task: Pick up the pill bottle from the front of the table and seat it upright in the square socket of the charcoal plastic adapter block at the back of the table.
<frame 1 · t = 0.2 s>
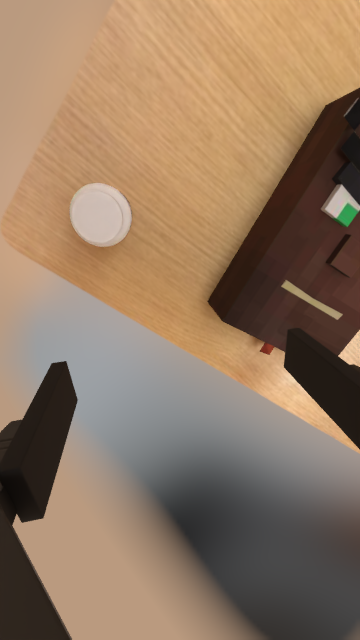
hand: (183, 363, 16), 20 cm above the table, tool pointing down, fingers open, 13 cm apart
decorative book: (308, 246, 35), on the table
pill bottle: (107, 213, 30), on the table
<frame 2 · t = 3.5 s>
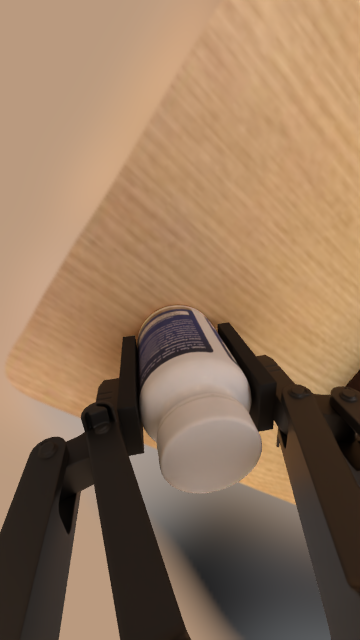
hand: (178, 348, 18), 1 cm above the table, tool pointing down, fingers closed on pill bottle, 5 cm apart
pill bottle: (175, 337, 19), on the table, touching gripper
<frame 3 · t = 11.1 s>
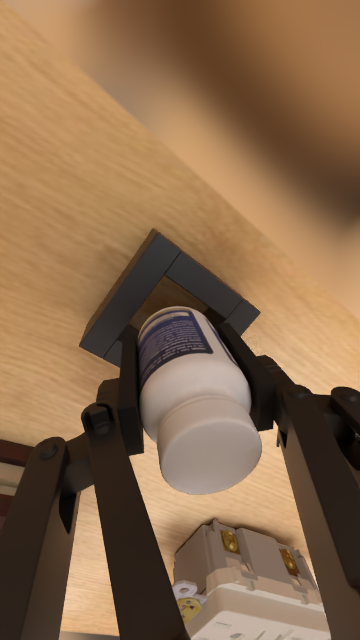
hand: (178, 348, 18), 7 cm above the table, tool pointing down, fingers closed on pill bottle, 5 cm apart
electrical outlet: (233, 546, 41), on the table
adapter: (166, 310, 24), on the table
pill bottle: (175, 338, 19), point 5 cm above the table, touching gripper
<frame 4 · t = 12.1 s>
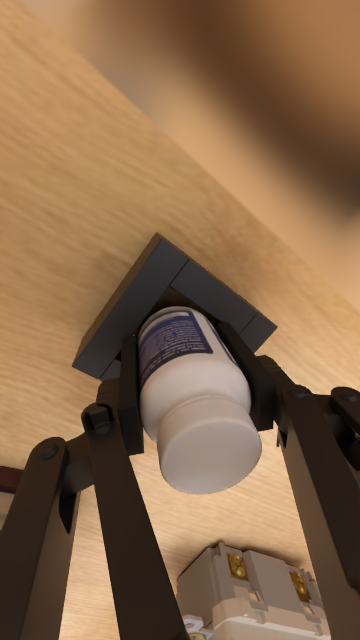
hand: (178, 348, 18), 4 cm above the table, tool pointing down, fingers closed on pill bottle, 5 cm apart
electrical outlet: (239, 568, 39), on the table
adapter: (170, 322, 21), on the table
pill bottle: (175, 338, 19), point 3 cm above the table, touching gripper
when the fingers open (6 cm above the table, at t = 18.9 s): pill bottle drops 5 cm, resting in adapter.
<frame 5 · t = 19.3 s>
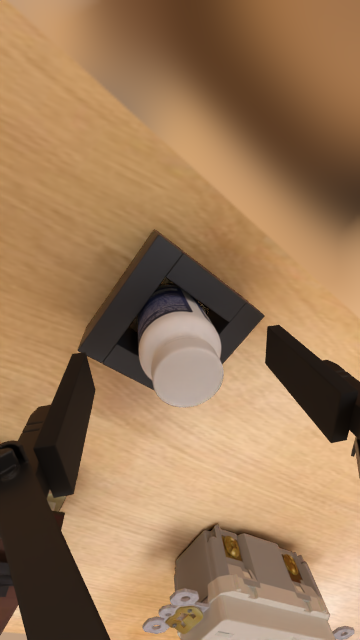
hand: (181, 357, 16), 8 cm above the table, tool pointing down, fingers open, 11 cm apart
electrical outlet: (234, 551, 41), on the table
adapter: (167, 313, 23), on the table
pill bottle: (167, 312, 24), resting in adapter
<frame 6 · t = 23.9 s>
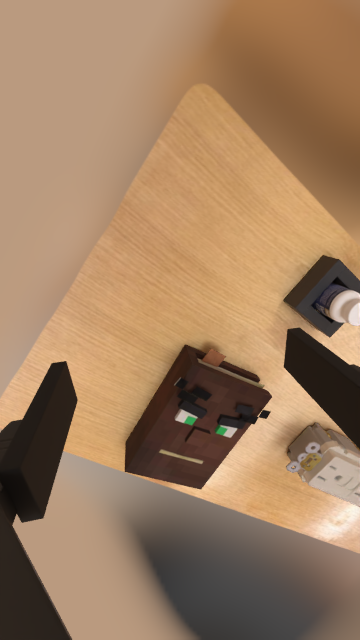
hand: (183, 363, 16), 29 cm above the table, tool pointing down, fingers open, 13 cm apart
decorative book: (190, 408, 55), on the table
electrical outlet: (320, 446, 66), on the table
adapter: (319, 293, 49), on the table
pill bottle: (318, 293, 49), resting in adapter
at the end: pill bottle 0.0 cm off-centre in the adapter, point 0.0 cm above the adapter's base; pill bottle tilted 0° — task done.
